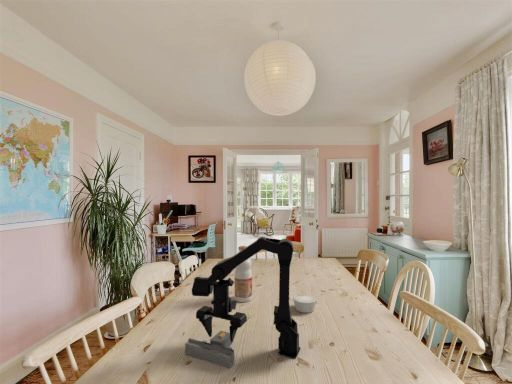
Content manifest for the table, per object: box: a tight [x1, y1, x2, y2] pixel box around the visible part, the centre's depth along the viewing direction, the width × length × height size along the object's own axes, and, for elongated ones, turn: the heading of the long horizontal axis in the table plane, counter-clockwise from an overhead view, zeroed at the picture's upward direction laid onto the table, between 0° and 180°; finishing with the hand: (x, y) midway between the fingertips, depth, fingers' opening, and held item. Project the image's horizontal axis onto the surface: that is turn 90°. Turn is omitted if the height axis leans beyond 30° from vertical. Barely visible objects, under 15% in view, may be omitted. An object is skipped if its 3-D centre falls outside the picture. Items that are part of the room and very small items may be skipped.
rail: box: [184, 337, 235, 369], centre depth 92 cm, size 18×6×5 cm, turn 67°
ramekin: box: [292, 294, 317, 314], centre depth 129 cm, size 11×11×5 cm
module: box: [209, 330, 233, 348], centre depth 97 cm, size 5×7×5 cm
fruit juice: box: [234, 245, 253, 303], centre depth 142 cm, size 9×9×28 cm
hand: (221, 339), depth 97 cm, fingers open, 9 cm apart
